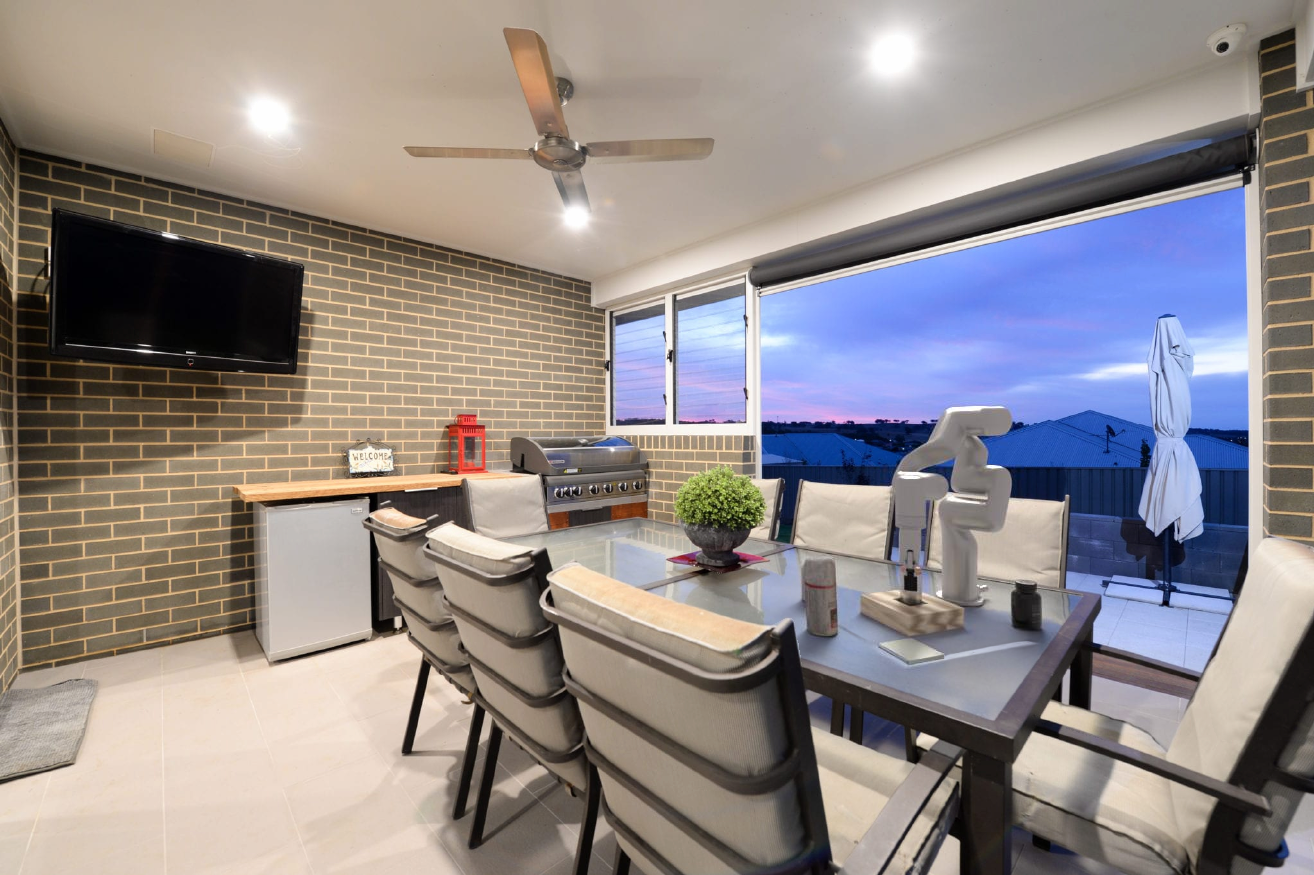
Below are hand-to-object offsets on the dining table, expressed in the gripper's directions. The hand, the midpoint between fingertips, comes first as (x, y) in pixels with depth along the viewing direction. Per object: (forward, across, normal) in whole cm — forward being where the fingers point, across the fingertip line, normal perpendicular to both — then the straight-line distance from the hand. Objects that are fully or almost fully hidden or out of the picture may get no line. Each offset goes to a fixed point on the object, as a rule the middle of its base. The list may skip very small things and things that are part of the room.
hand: (911, 586), depth 145 cm
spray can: (+10, +17, -21) cm, 28 cm away
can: (+10, -6, -27) cm, 30 cm away
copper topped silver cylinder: (+6, 0, 0) cm, 6 cm away
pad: (+10, +21, 0) cm, 23 cm away
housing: (+10, +1, 0) cm, 10 cm away
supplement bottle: (+11, -10, +27) cm, 31 cm away
